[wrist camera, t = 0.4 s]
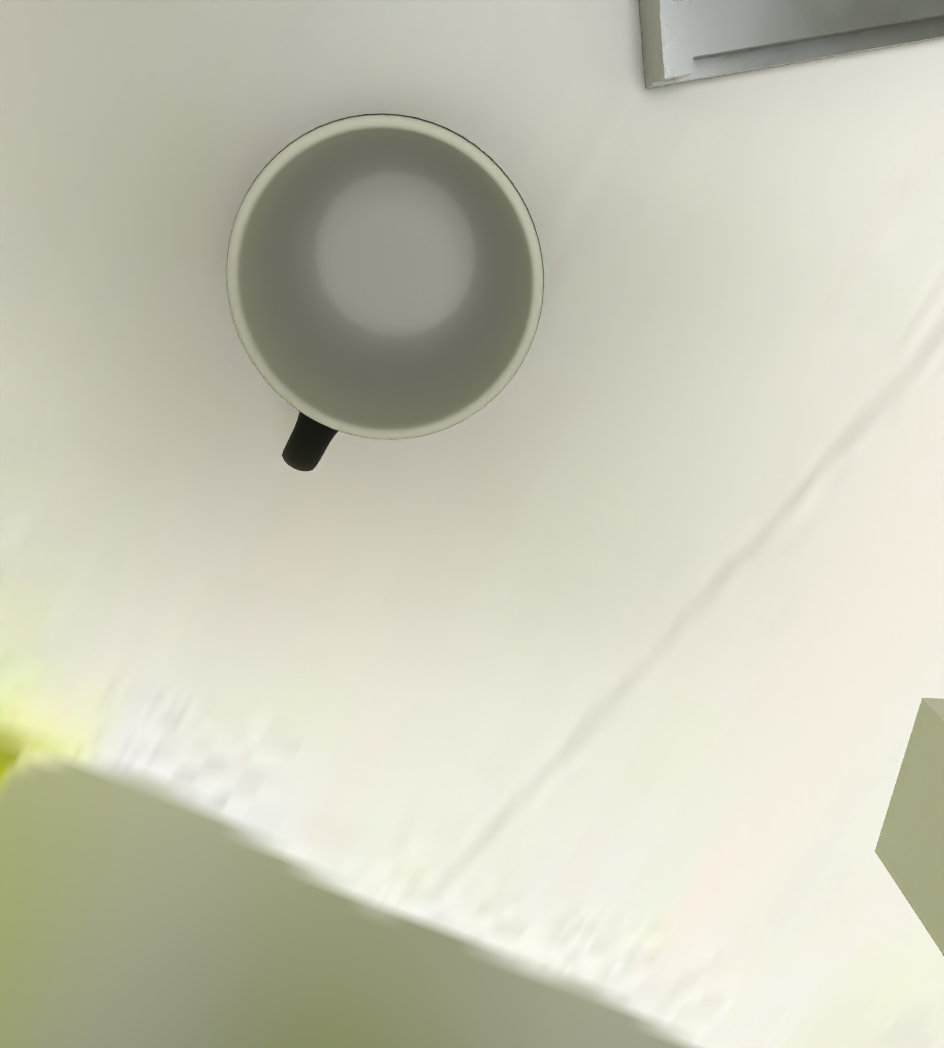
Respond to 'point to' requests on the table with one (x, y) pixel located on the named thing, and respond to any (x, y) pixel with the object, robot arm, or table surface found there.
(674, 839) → the table surface
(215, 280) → the table surface
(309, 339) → the mug
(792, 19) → the rack
